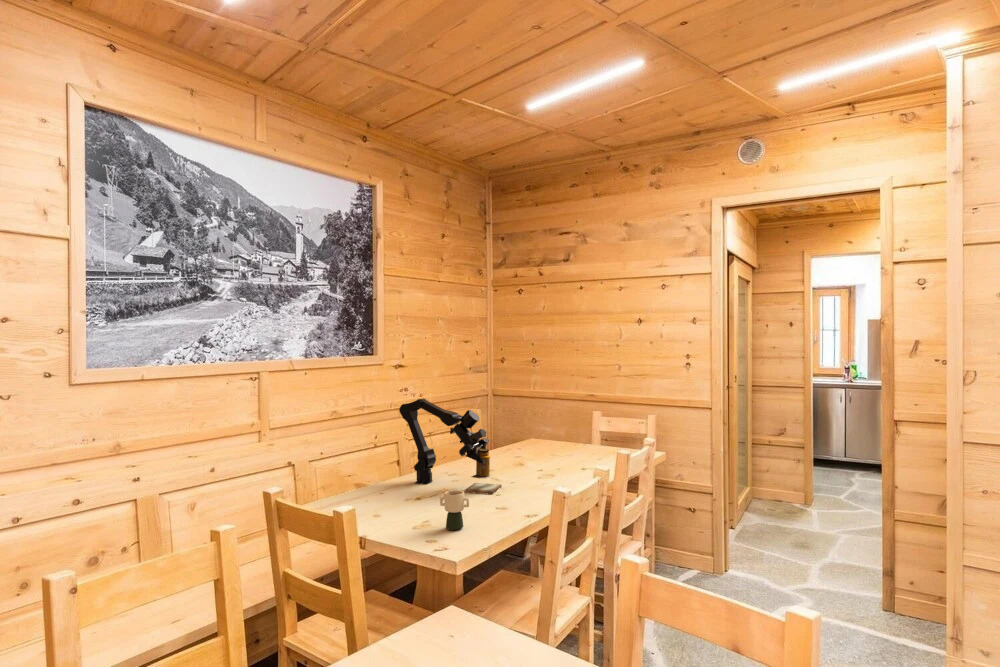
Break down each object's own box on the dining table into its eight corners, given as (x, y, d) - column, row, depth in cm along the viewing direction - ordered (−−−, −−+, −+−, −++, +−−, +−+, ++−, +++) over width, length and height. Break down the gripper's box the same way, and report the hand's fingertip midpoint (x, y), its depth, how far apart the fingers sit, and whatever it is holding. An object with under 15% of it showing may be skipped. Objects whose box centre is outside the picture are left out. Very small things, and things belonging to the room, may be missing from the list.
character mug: (471, 526, 208) (471, 490, 208) (466, 532, 201) (466, 495, 201) (443, 524, 210) (442, 489, 210) (437, 531, 203) (436, 494, 203)
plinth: (464, 492, 255) (464, 488, 255) (475, 485, 267) (475, 482, 267) (492, 494, 251) (492, 491, 251) (501, 487, 263) (501, 483, 263)
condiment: (492, 475, 261) (492, 448, 261) (485, 479, 253) (485, 452, 253) (478, 473, 264) (478, 447, 264) (470, 477, 256) (470, 450, 256)
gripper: (465, 426, 253) (487, 453, 248) (485, 420, 270) (506, 446, 265) (449, 442, 257) (471, 469, 251) (470, 436, 273) (490, 461, 268)
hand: (485, 461), depth 259 cm, fingers closed on condiment, 6 cm apart
